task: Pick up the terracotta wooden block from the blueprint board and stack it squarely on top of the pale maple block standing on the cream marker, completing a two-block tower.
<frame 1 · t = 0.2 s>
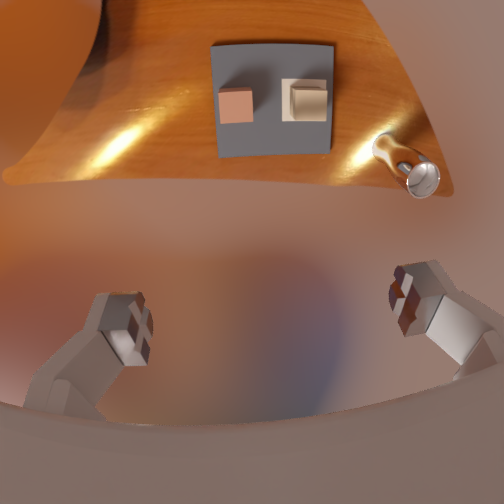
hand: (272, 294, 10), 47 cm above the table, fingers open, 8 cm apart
beer glass: (385, 147, 55), on the table
terracotta block: (235, 101, 47), point 1 cm above the table, touching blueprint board
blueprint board: (273, 99, 48), on the table
maple block: (304, 100, 48), point 1 cm above the table, touching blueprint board
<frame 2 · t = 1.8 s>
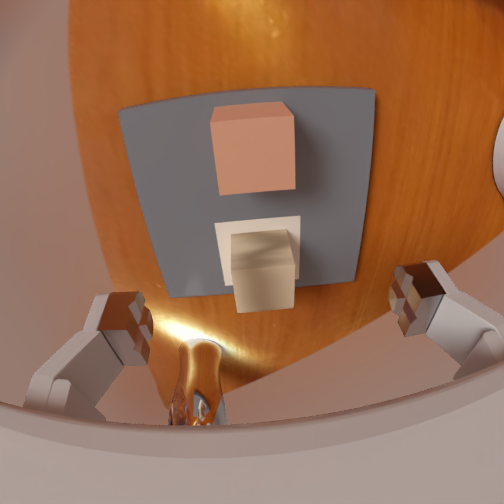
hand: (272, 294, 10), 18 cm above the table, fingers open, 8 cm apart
beer glass: (200, 349, 41), on the table
terracotta block: (250, 134, 23), point 1 cm above the table, touching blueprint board
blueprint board: (255, 200, 28), on the table
maple block: (260, 253, 30), point 1 cm above the table, touching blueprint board
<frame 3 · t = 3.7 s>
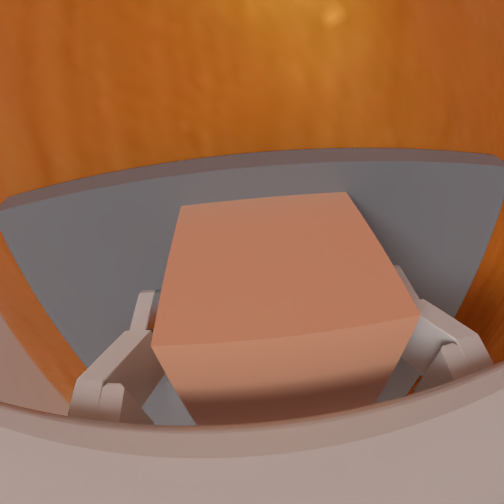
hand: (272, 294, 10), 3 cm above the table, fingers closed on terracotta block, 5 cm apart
terracotta block: (268, 263, 11), point 1 cm above the table, touching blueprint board, gripper
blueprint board: (270, 345, 16), on the table
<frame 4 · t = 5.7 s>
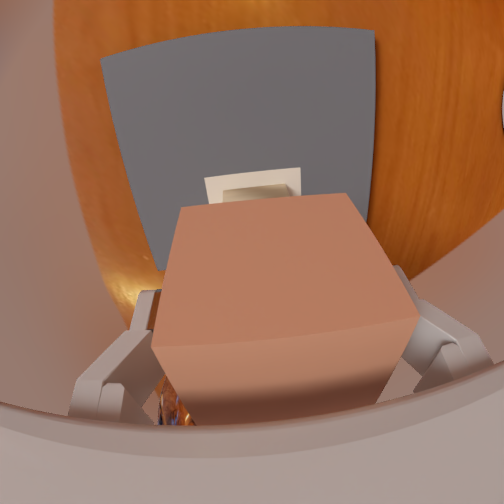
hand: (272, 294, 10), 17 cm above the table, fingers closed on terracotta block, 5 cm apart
beer glass: (195, 334, 38), on the table
terracotta block: (268, 264, 11), point 16 cm above the table, touching gripper
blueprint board: (250, 152, 24), on the table
maple block: (256, 213, 26), point 1 cm above the table, touching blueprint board
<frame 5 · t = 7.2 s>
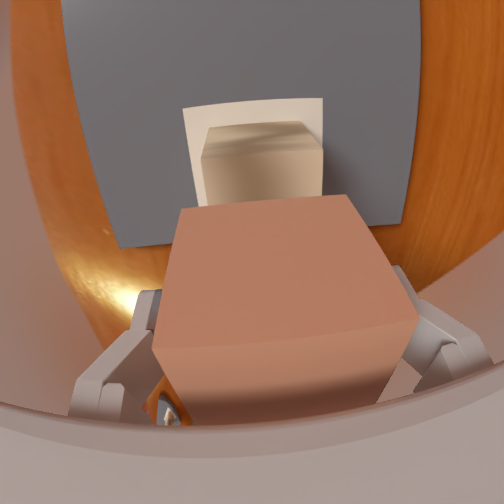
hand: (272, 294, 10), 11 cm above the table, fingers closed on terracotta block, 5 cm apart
beer glass: (174, 336, 29), on the table
terracotta block: (268, 265, 11), point 10 cm above the table, touching gripper
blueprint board: (250, 77, 15), on the table
maple block: (257, 164, 18), point 1 cm above the table, touching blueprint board
when the fingers open (9 cm above the table, at t = 8.1 s): terracotta block stays where it is, resting on maple block.
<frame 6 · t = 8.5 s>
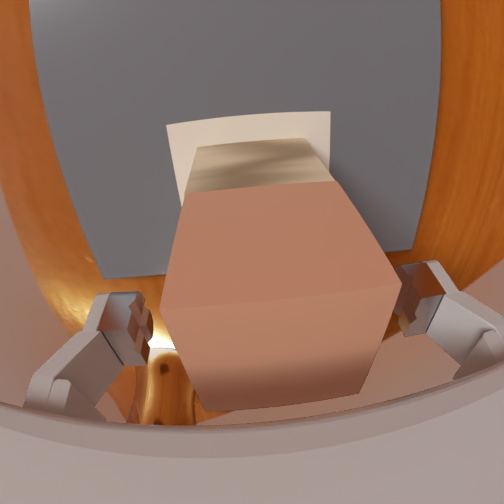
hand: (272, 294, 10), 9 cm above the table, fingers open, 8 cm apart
beer glass: (168, 363, 27), on the table
terracotta block: (265, 248, 11), point 6 cm above the table, touching maple block
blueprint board: (245, 86, 13), on the table
maple block: (254, 188, 15), point 1 cm above the table, touching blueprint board, terracotta block
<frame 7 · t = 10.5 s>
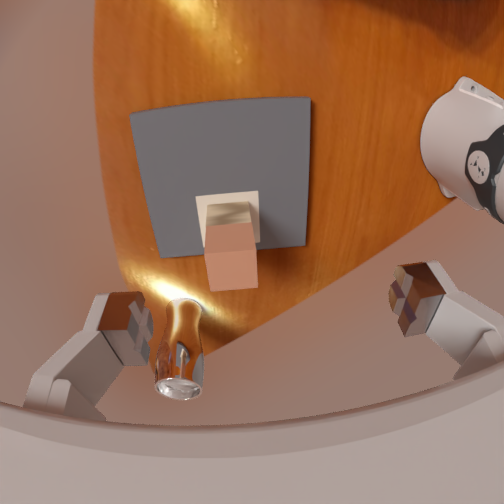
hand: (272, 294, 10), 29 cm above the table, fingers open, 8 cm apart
beer glass: (184, 309, 51), on the table
terracotta block: (230, 242, 36), point 6 cm above the table, touching maple block
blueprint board: (225, 180, 38), on the table
maple block: (229, 220, 40), point 1 cm above the table, touching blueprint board, terracotta block
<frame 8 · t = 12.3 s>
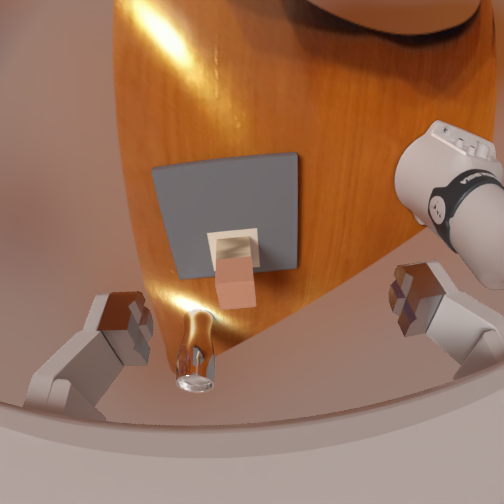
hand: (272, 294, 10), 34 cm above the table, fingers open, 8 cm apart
beer glass: (198, 318, 61), on the table
terracotta block: (235, 271, 46), point 6 cm above the table, touching maple block
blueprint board: (230, 219, 48), on the table
maple block: (234, 250, 50), point 1 cm above the table, touching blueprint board, terracotta block
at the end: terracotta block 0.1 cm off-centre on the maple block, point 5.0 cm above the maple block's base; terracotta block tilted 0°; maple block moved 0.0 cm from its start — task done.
